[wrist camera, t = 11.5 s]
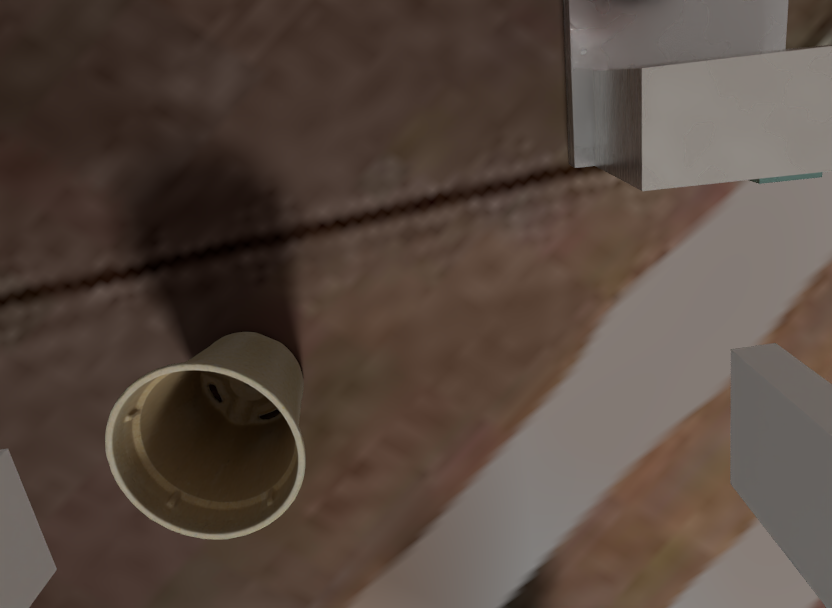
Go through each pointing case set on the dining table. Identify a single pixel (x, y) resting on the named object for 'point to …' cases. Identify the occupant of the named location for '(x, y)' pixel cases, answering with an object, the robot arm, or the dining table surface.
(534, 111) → the dining table surface
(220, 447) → the flower pot
